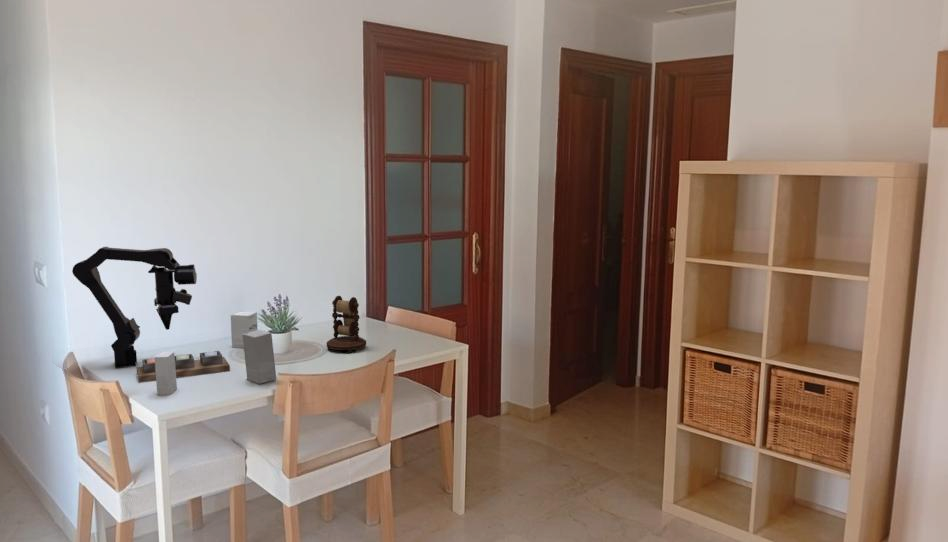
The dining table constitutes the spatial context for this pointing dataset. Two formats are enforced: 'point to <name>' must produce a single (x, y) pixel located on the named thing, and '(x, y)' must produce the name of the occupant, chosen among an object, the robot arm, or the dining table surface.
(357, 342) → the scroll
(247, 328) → the supplement box
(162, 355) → the skincare box
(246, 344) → the skincare box
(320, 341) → the dining table surface
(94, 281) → the robot arm
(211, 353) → the slate button
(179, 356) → the sage button
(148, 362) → the terracotta button
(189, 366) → the button panel
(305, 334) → the dining table surface
